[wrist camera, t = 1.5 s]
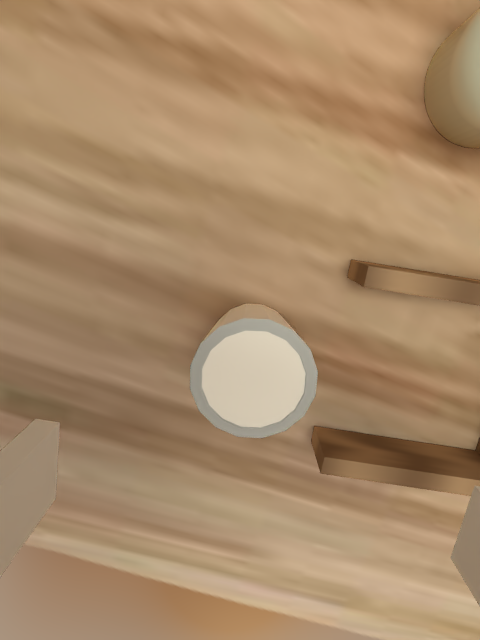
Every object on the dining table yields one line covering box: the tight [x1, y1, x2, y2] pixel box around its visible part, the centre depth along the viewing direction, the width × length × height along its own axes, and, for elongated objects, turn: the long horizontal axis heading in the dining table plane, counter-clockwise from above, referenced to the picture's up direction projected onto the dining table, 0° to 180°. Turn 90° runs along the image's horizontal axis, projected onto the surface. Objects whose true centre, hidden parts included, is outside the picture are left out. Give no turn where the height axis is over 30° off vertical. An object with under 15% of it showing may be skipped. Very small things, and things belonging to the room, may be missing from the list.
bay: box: [311, 260, 480, 496], centre depth 27 cm, size 13×13×4 cm
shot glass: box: [190, 304, 318, 438], centre depth 25 cm, size 7×7×7 cm
